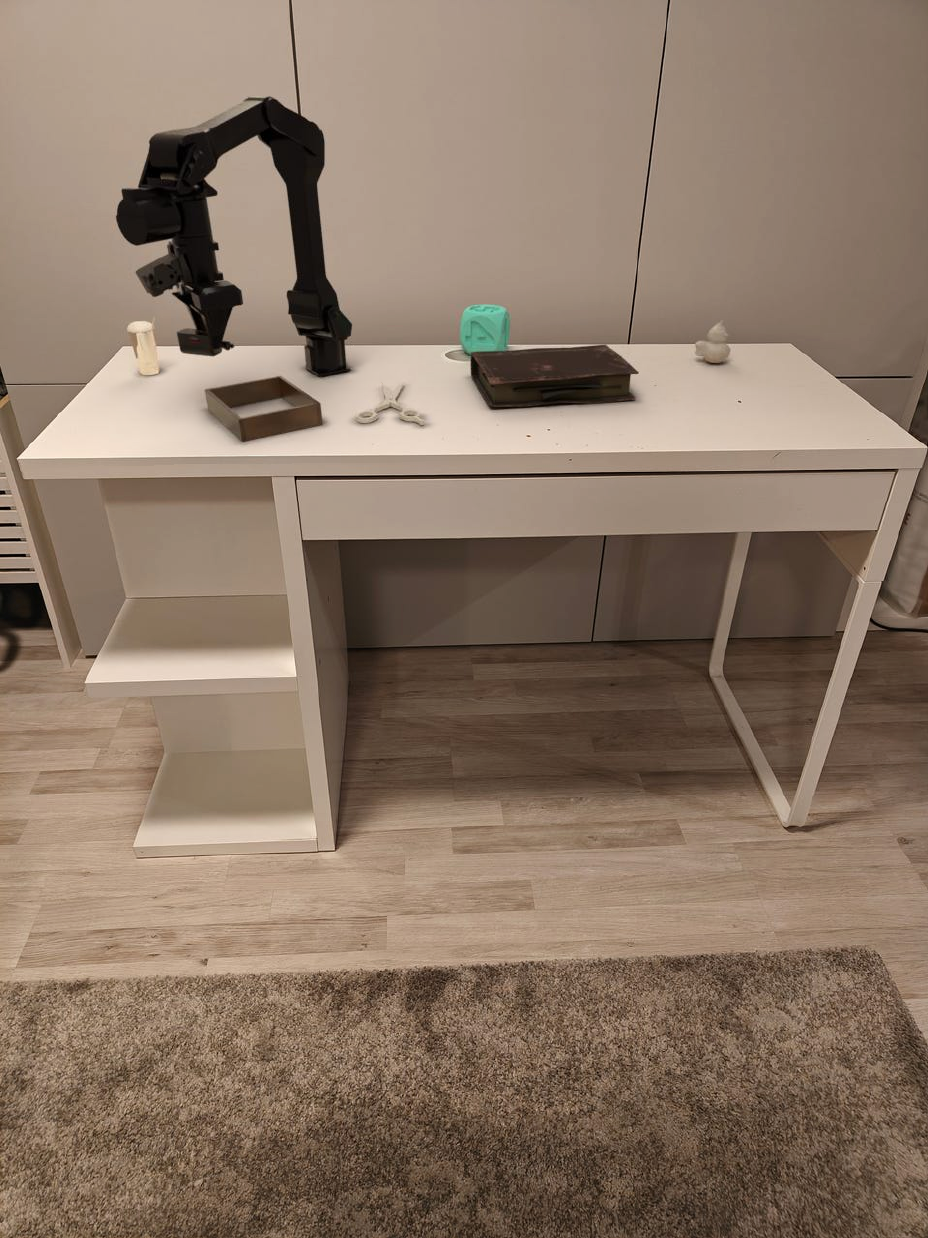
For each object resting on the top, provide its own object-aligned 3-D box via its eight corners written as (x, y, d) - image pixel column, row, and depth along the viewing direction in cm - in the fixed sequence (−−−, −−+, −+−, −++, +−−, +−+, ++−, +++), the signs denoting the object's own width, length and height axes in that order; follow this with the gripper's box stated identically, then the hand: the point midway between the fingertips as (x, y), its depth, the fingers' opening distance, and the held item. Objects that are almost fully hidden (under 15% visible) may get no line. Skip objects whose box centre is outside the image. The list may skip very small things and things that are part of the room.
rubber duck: (731, 366, 154) (738, 322, 150) (695, 366, 154) (702, 322, 150) (724, 358, 159) (732, 314, 154) (690, 357, 159) (696, 314, 154)
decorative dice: (499, 358, 159) (500, 315, 154) (459, 355, 160) (459, 312, 156) (509, 347, 165) (510, 305, 160) (471, 344, 167) (471, 302, 162)
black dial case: (218, 358, 125) (215, 336, 124) (179, 354, 127) (174, 332, 126) (235, 349, 129) (232, 328, 127) (196, 345, 131) (192, 324, 129)
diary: (470, 376, 150) (470, 348, 147) (602, 368, 153) (605, 341, 150) (490, 412, 134) (491, 381, 132) (637, 402, 138) (640, 372, 135)
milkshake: (159, 377, 150) (147, 320, 144) (132, 375, 151) (119, 319, 145) (171, 369, 153) (160, 314, 148) (145, 368, 154) (133, 312, 149)
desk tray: (283, 395, 141) (281, 375, 140) (322, 424, 130) (320, 402, 128) (208, 410, 136) (204, 389, 134) (242, 441, 124) (238, 419, 122)
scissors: (355, 422, 129) (362, 380, 145) (356, 426, 129) (362, 384, 145) (423, 420, 129) (422, 379, 145) (423, 425, 129) (423, 383, 146)
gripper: (117, 230, 121) (140, 339, 130) (153, 250, 108) (177, 369, 117) (192, 223, 126) (209, 328, 135) (235, 241, 113) (252, 356, 122)
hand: (210, 344), depth 127 cm, fingers closed on black dial case, 5 cm apart
